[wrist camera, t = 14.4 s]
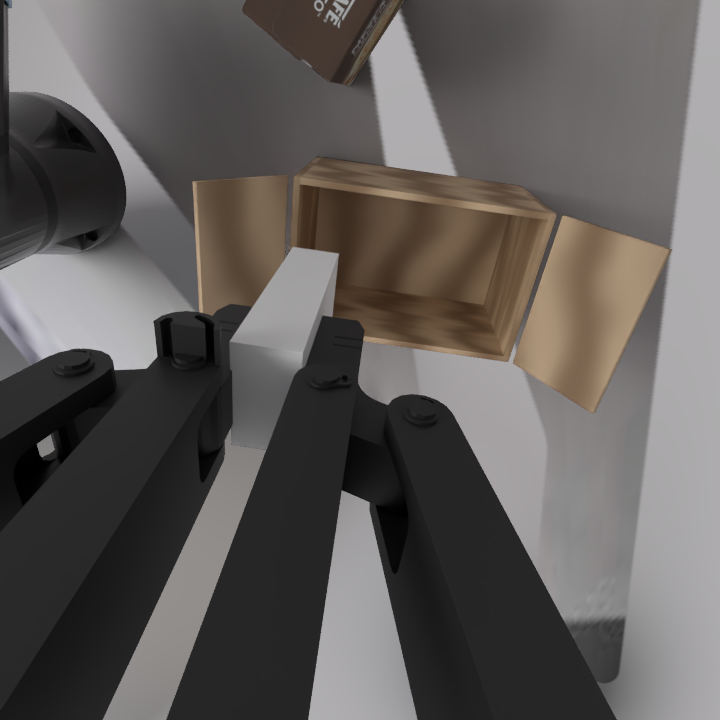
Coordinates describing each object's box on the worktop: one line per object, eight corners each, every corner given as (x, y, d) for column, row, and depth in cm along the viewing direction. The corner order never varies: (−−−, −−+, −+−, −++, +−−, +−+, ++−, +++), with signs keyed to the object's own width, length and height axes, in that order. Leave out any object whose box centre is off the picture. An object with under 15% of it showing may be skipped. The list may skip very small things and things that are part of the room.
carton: (308, 282, 52) (285, 329, 42) (317, 156, 46) (293, 176, 35) (486, 307, 52) (508, 362, 42) (521, 186, 46) (557, 214, 35)
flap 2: (592, 413, 36) (595, 412, 36) (669, 250, 30) (672, 249, 30) (512, 363, 42) (515, 362, 42) (562, 215, 35) (565, 215, 35)
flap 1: (196, 182, 29) (192, 181, 30) (205, 359, 36) (202, 357, 36) (288, 175, 35) (284, 174, 35) (281, 329, 42) (278, 328, 42)
